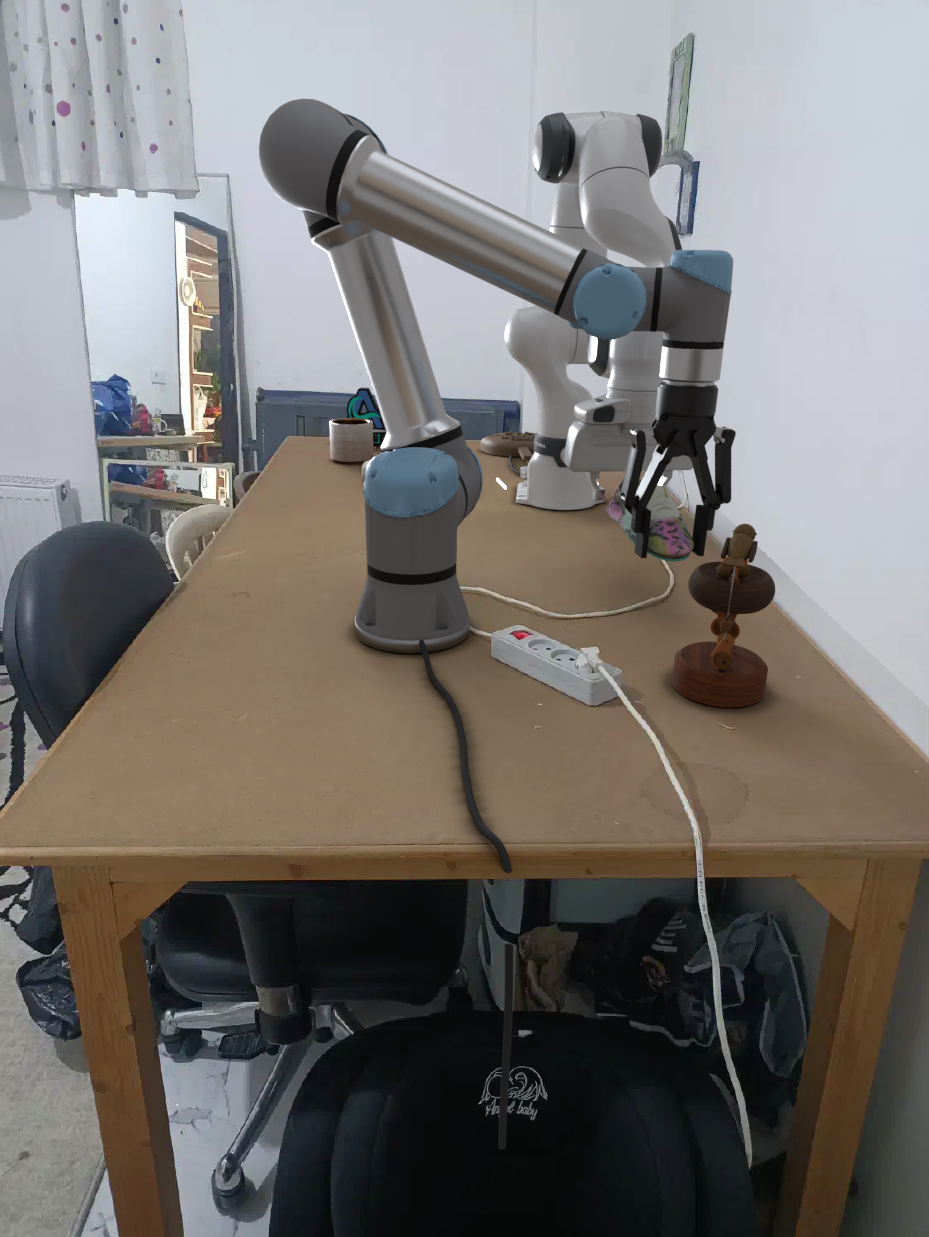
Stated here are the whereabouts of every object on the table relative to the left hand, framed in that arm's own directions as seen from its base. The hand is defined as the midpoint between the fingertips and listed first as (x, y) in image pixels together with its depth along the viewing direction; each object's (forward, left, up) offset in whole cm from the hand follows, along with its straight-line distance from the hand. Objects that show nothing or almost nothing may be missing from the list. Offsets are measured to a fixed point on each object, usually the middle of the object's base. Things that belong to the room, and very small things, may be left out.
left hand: (668, 553), depth 116 cm
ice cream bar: (+110, +24, -9) cm, 113 cm away
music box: (-21, -4, -9) cm, 23 cm away
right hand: (+17, +5, +3) cm, 18 cm away
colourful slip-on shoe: (+9, +3, -1) cm, 9 cm away
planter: (+97, +67, -9) cm, 118 cm away
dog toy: (+74, +49, -9) cm, 89 cm away
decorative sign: (+118, +68, -9) cm, 137 cm away
